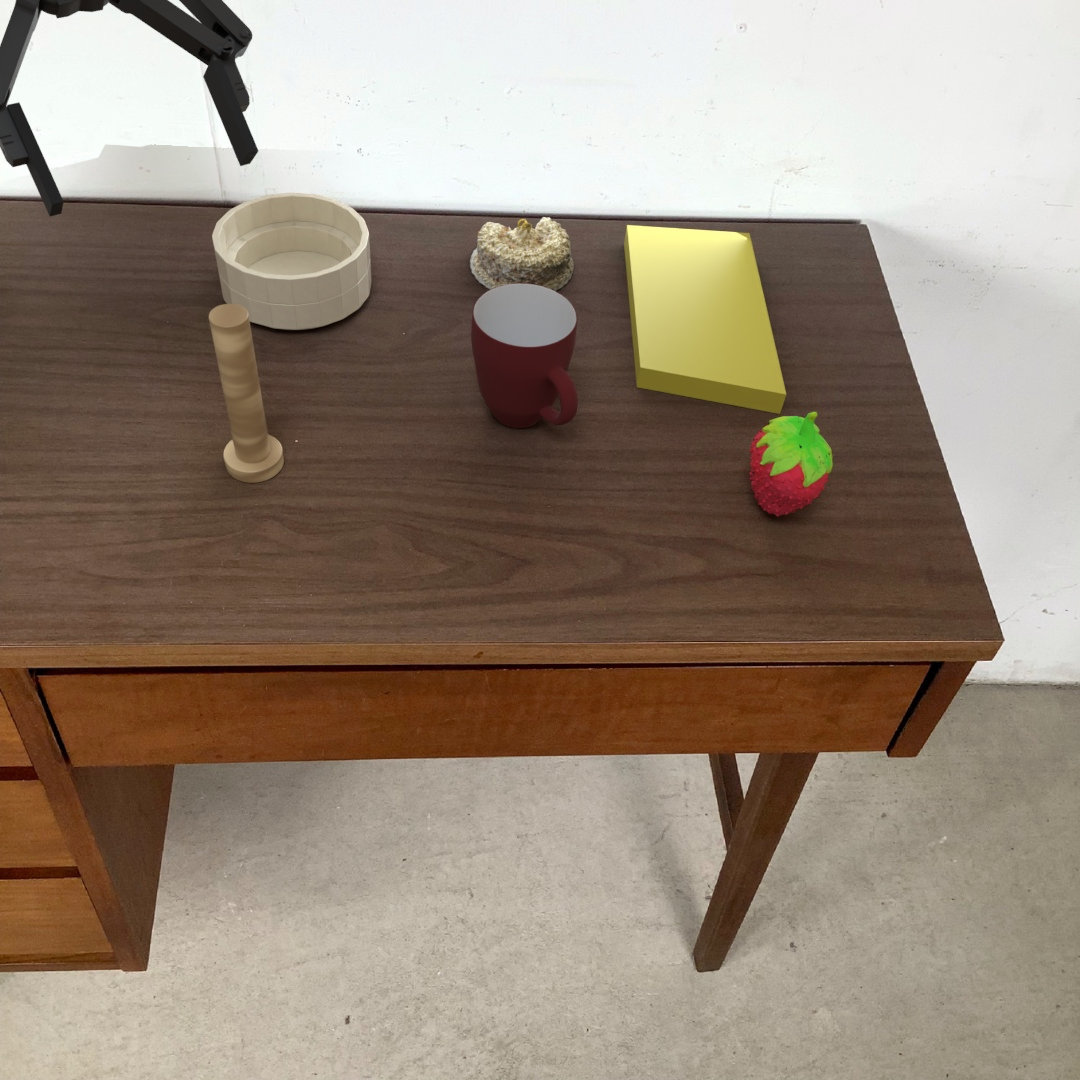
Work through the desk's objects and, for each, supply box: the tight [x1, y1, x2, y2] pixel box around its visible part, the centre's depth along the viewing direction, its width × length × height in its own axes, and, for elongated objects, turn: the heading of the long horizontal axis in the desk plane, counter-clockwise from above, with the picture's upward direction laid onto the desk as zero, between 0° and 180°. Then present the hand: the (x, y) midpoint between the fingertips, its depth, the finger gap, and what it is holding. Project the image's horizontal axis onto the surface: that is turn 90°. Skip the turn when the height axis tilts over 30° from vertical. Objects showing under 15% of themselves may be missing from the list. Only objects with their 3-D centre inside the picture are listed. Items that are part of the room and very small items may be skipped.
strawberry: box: [749, 411, 834, 517], centre depth 80 cm, size 6×7×10 cm
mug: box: [470, 283, 579, 429], centre depth 84 cm, size 11×8×10 cm
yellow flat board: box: [623, 224, 787, 415], centre depth 97 cm, size 12×2×24 cm
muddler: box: [208, 303, 285, 484], centre depth 77 cm, size 4×4×14 cm
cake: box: [469, 216, 575, 292], centre depth 100 cm, size 10×10×5 cm
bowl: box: [211, 192, 373, 331], centre depth 95 cm, size 13×13×6 cm
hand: (157, 183), depth 73 cm, fingers open, 13 cm apart
